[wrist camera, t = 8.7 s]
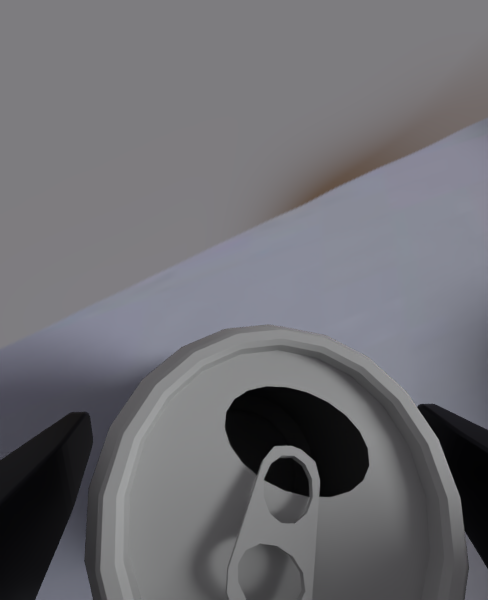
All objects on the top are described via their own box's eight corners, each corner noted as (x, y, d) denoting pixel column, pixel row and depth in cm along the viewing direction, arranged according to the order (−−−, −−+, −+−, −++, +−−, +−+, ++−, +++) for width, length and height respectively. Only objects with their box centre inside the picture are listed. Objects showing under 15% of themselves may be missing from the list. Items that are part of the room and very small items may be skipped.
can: (324, 423, 17) (509, 364, 7) (289, 596, 14) (547, 1042, 3) (195, 375, 18) (174, 249, 7) (131, 531, 14) (-95, 737, 4)
